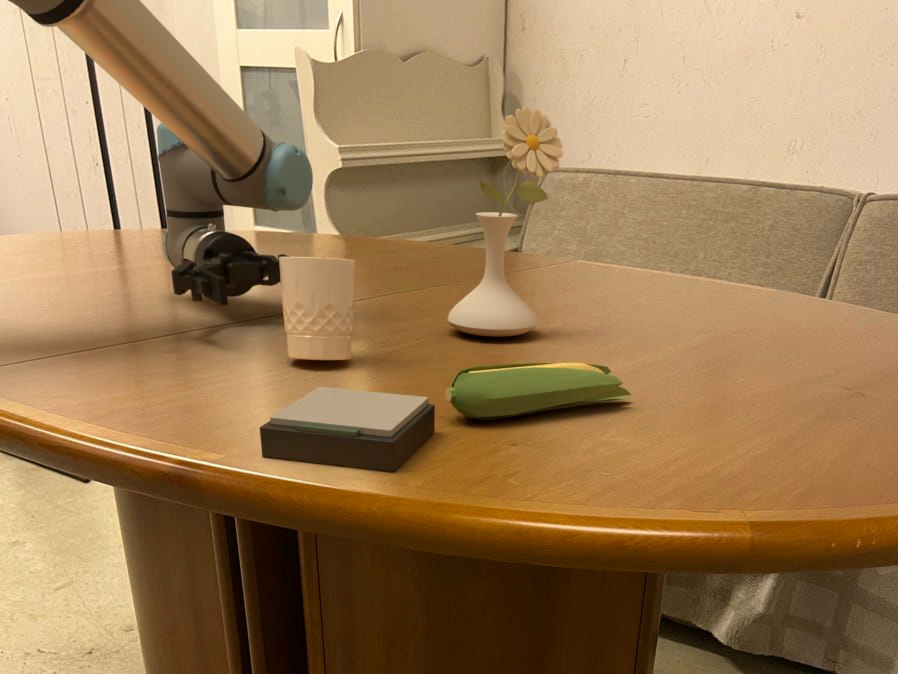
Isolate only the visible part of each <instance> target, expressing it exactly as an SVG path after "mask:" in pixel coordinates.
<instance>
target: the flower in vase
mask: <svg viewBox="0 0 898 674" xmlns="http://www.w3.org/2000/svg"><path fill="white" fill-rule="evenodd" d="M503 127H504V130H503V131H502V132H501V136H502V143H501V148H502V150H503V151H504V152H506V157H507V159H508V160H510V161H511V166H512V168H514V169H518V171H517V175H516V179H515V182H514V185H513V186H512V189H511V191H510V192H509V194H508V196H507V197H505V195H504V194H505V193H503V192H502V191H500V190H498V189H495V188H493V187H491V186H489V185H487V184H486V183H484V182H483V181H482V180H481V179H480V180H479V188H480V190H481V192H482V194H483V195H484V196H486V197H487V198H489V199H492V200H495V201H496V202H499V203H503V205H502V206H501V208H500V211H499V212H498V211H497V212H496V211H495V212H493V211H492V212H491V211H490V212H488V211H487V212H485V211H484V212H476V213H475V217H476V219H478V221H479V223H480V226H481V229H482V232H483V237H484V243H485V244H484V246H485V267H484V275H483V277H482V280H481V281H480V282H479V283H478V285H477V286H476V287H475V288H474V289H473V290H471V291H470V292H469V293H468V294H467V295H465V296H464V297H463V298H462V299H460V300H459V302H457V303H456V304H455V305H454V306H453V307H452V309H451V310H450V311H449V313H448V316H447V319H446V320H447V321H448V324H449V325H450V327H452V328H454V329H456V330H458V331H459V332H462V333H464V334H465V333H466V334H469V335H474V336H479V337H488V338H489V337H490V338H491V337H492V338H501V337H504V338H505V337H514V336H520V335H523V334H526V333H529V332H531V331H533V330H534V329H535V328H536V327H537V325H538V324H539V320H538V317H537V315H536V313H535V312H534V311H533V309H532V308H531V306H530V305H529V304H528V303H527V302H526V301H524V299H522V297H520V296H519V294H517V293H516V291H514V290H513V288H512V287H511V286H510V285H509V284H508V282H507V279H506V277H505V255H506V254H505V252H506V245H507V241H508V236H509V232H510V230H511V227H512V226H513V224H514V222H515V221H516V220H517V218H518V214H516V213H511V212H504V211H505V209H506V207H507V205H508V203H509V202H510V200H511V198H512V196H513V195H514V192H516V193H517V195H518V196H519V197H520V198H521V200H522V201H523V202H524V203H525V204H528V205H534V204H538V203H540V202H543V201H546V200H548V199H549V196H548V195H547V192H545V190H544V189H543V188H542V187H541V186H540V185H538V183H536V182H533V181H530V180H527V181H524V182H522V183H520V184H519V182H520V177H521V174H522V173H523V174H524V175H530V176H531V177H532V178H537V179H542V178H545V177H546V175H547V172H548V173H553V172H554V171H555V170H557V169H559V168H560V160H559V158H562V157H563V151H562V149H563V142H562V141H561V138H560V137H559V136H558V129H557V128H556V127H554V126H552V122H551V120H549V119H548V116H547V115H546V114H542V113H541V110H539V109H538V108H534V110H533V111H532V110H531V109H530V108H529V107H528V106H524V107H522V109H520V108H517V109H516V110H515V115H514V114H510V115H506V116H505V121H504V123H503ZM521 172H522V173H521Z"/></svg>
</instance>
